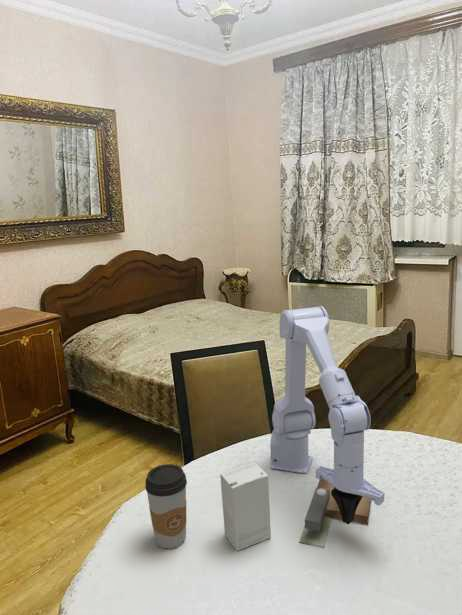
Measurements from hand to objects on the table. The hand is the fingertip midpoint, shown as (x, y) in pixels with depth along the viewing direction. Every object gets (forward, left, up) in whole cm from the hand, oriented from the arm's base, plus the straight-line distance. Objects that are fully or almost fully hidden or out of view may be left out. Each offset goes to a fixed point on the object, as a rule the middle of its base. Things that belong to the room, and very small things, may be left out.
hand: (348, 520), depth 100 cm
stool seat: (-3, +5, -3) cm, 7 cm away
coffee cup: (-34, -12, -3) cm, 37 cm away
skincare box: (-19, -7, -3) cm, 21 cm away
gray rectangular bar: (-7, +2, -1) cm, 7 cm away
